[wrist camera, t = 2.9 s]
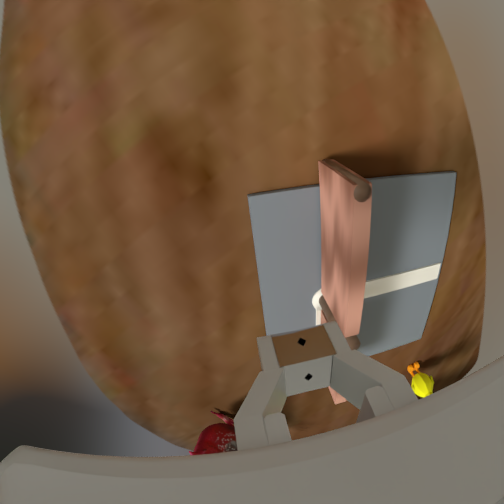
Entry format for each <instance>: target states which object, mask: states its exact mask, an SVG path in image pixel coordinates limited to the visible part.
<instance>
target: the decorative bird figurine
mask: <svg viewBox="0 0 504 504" xmlns="http://www.w3.org/2000/svg"><path fill="white" fill-rule="evenodd" d="M211 412H212V411H211ZM212 413H214V414H216V415H217V416H218V417H219V418H221V419H223V420H224V421H225V422H226V423H227V424H224V423H218V424H213V425H210V426H208V427H207V428H205V429H204V430H203V431H202V433H201V434H200V436H199V439H198V442H197V445H196V446H195V449H194V452H190V451H189V453H190V455H203V454H213V453H222V452H230V451H238V450H237V442H236V434H235V427H234V426H233V425H232V424H234V422H233V420H232V419H230V418H228V417H226V416H225V415H224V414H222V413H215V412H212ZM231 423H232V424H231Z"/></svg>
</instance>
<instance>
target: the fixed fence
mask: <svg viewBox="0 0 504 504" xmlns="http://www.w3.org/2000/svg"><path fill="white" fill-rule="evenodd" d="M319 304H320V306H321V308H322V310H321V324H324V323H328V322H332V321H335V322H336V320H335V318H334V316H333V314H332V312H331V310H330V308H329V306H328V304H327V302H326V300H325V298H324V297H323V295H322V296H321V297H320V298H319ZM338 326H339V325H338ZM339 328H340V327H339ZM340 330H341V329H340ZM345 339H346V341H347V343H348V345H349V347H350V349H351V350H357V349H358V348H359V347H360V344H361V343H360V341H359V339H358V337H357V335H353V336H350V337H346V338H345ZM328 387H329V390H330V392H331V395H332V398H333V400H334V403H335V404H338V403H341V402H345V401H346V399H345V398H344V397H342V396H341V395H340V394H339V393H337V392H336V391H335V390H333V389H332V388H331V387H330V386H328Z"/></svg>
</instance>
